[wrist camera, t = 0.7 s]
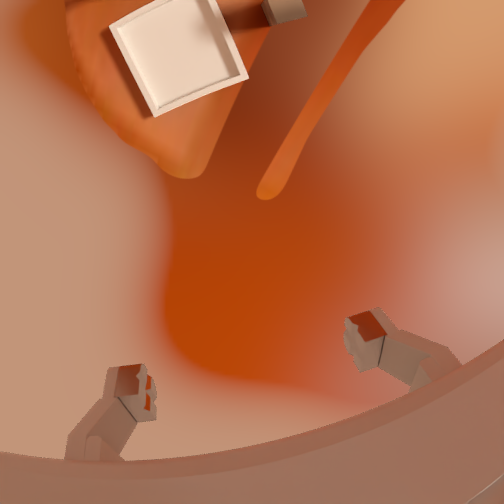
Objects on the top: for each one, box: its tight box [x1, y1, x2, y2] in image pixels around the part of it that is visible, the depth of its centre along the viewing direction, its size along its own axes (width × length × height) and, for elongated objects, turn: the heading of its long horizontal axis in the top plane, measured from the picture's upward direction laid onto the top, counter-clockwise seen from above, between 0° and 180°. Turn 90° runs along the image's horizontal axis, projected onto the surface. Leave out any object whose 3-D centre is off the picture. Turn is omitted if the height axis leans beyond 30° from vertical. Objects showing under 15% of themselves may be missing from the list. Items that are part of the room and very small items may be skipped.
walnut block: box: [261, 0, 308, 26], centre depth 32 cm, size 4×4×10 cm
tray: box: [109, 0, 249, 117], centre depth 38 cm, size 18×16×2 cm
